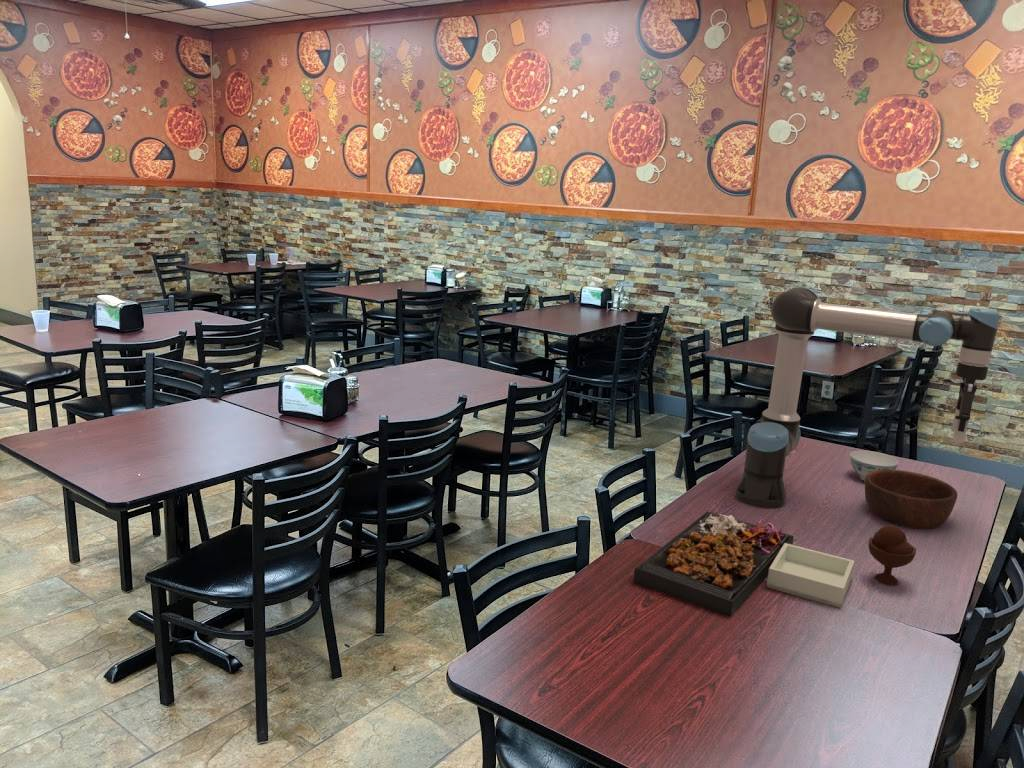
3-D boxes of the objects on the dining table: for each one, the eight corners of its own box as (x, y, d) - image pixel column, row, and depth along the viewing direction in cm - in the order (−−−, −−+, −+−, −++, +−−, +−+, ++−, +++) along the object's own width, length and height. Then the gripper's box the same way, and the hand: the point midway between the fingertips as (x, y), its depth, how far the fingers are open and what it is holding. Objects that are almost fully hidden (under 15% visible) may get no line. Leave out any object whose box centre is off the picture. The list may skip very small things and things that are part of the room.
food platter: (705, 525, 230) (709, 491, 227) (791, 550, 216) (796, 515, 213) (633, 584, 194) (636, 545, 191) (730, 619, 180) (735, 578, 178)
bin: (766, 587, 194) (769, 568, 193) (782, 560, 209) (784, 542, 207) (840, 608, 186) (843, 588, 185) (851, 578, 200) (854, 560, 199)
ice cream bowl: (915, 593, 194) (926, 537, 191) (867, 587, 196) (877, 531, 193) (904, 573, 204) (914, 519, 201) (858, 567, 207) (867, 513, 203)
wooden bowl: (958, 539, 226) (965, 506, 224) (863, 524, 234) (869, 491, 231) (943, 507, 249) (949, 476, 247) (857, 494, 257) (862, 464, 254)
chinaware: (897, 478, 273) (901, 456, 271) (891, 491, 260) (895, 469, 259) (851, 468, 280) (854, 447, 279) (842, 480, 268) (846, 459, 266)
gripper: (991, 372, 210) (974, 449, 215) (985, 360, 232) (970, 430, 236) (959, 367, 213) (943, 443, 218) (956, 356, 235) (941, 425, 240)
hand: (957, 437), depth 227 cm, fingers open, 13 cm apart
